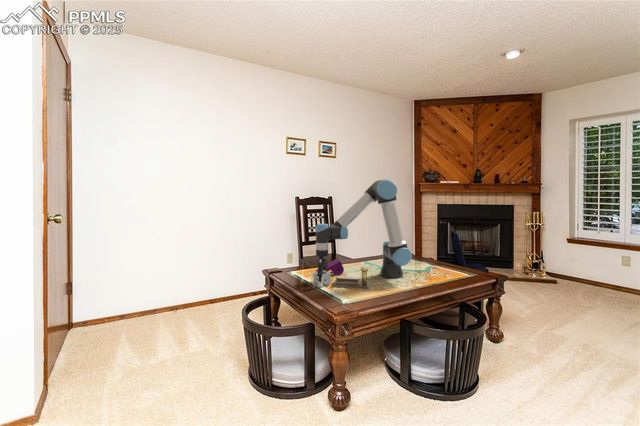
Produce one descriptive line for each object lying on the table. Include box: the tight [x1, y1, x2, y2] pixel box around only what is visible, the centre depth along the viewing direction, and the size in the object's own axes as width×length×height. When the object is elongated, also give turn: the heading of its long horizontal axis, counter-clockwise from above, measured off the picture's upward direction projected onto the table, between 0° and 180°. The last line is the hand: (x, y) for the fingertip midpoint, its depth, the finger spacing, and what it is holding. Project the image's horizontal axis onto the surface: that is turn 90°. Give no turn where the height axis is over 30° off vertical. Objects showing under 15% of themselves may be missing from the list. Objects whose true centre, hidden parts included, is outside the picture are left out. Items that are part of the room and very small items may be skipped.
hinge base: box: [333, 267, 369, 290], centre depth 199 cm, size 20×12×10 cm, turn 81°
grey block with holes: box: [312, 271, 332, 286], centre depth 201 cm, size 10×5×7 cm, turn 81°
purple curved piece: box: [315, 258, 345, 276], centre depth 225 cm, size 9×8×18 cm
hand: (322, 283), depth 201 cm, fingers open, 13 cm apart
